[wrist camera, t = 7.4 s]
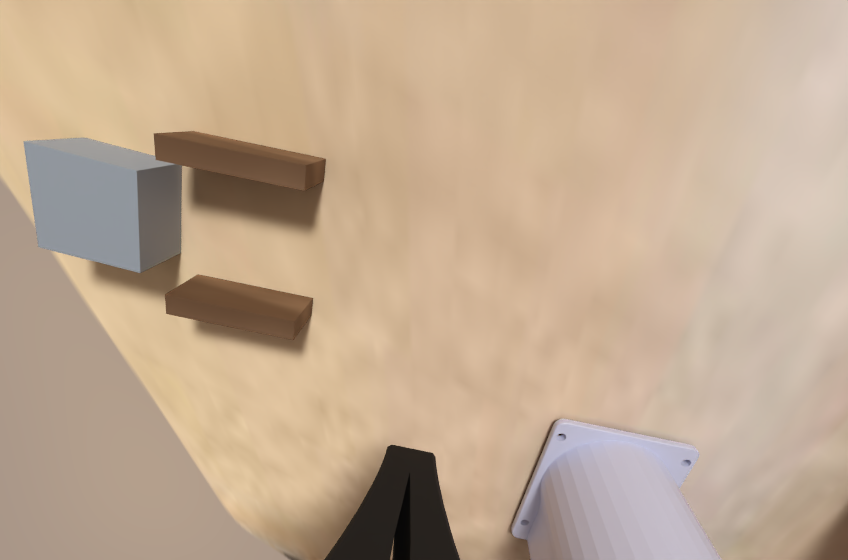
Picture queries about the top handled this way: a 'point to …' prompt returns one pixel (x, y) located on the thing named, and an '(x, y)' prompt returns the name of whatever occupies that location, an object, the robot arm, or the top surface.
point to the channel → (226, 297)
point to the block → (104, 202)
